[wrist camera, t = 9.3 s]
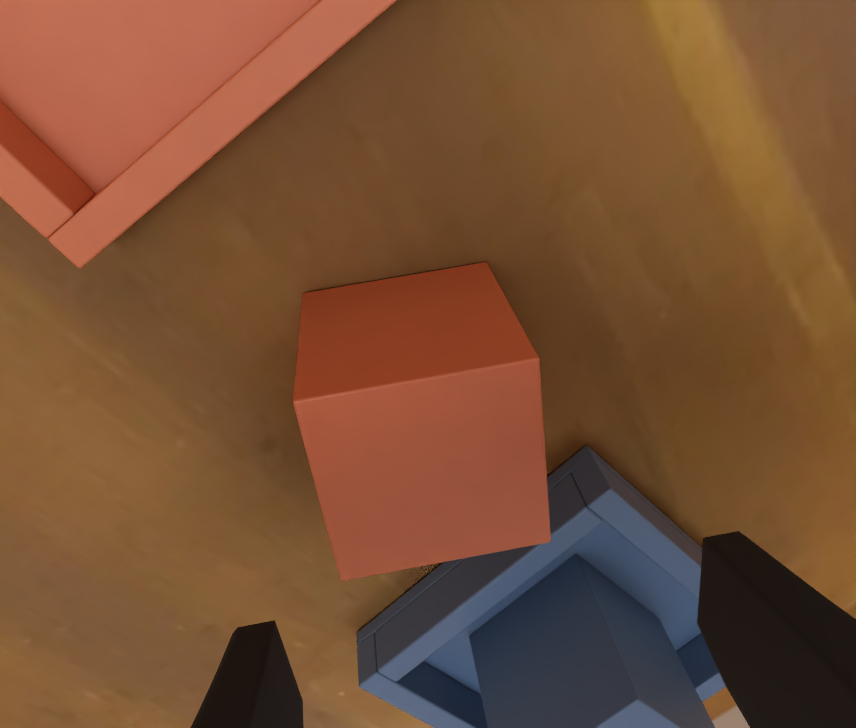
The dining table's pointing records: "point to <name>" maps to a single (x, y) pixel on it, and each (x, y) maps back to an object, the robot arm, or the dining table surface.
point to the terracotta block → (421, 420)
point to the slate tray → (517, 573)
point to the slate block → (581, 660)
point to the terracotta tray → (142, 98)
